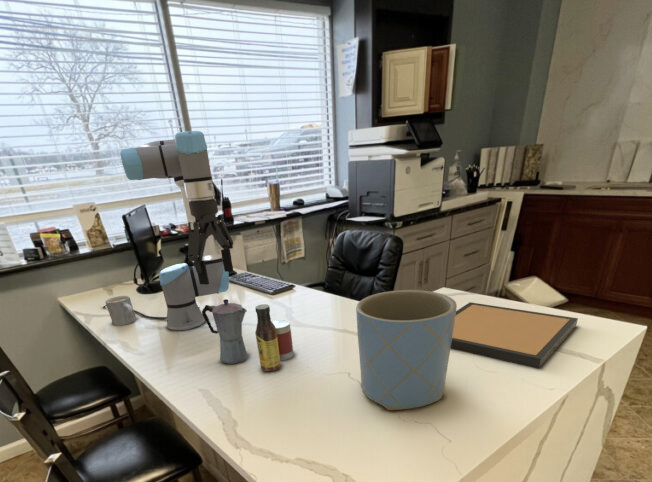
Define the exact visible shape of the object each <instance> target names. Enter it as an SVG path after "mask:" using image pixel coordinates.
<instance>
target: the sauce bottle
mask: <svg viewBox="0 0 652 482" xmlns="http://www.w3.org/2000/svg"><path fill="white" fill-rule="evenodd" d="M270 312H271V308H270V305H269V304H266V303H263V304H258V305H256V306H255V313H256V319H257V322H256V323H257V324H256V329H255V339H256V340H255V341H256V346H257V352H258V353H257V354H258V359H259V364H260V367H261V369H262V371H264V372H275V371H277V370H279V369H280V367H281V360H280V355H279V347H278V339H277V334H276V328H275V325H274V324H273V323H272V322H273V321H272V318H271V313H270Z"/></svg>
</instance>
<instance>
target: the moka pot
mask: <svg viewBox="0 0 652 482" xmlns="http://www.w3.org/2000/svg"><path fill="white" fill-rule="evenodd" d="M222 301H223V303H221V304H218V305H209V304H205V306H204V307H203V309H202V310H201V313H202V314H203V317H204V319H205V322H206V325H207V326H208V328H209V331H210V333H211V334H218V335H219V352H220V353H219V354H220V356H219V357H220V359H219V360H220V361H221V362H222V363H224V364H231V365H232V364H239V363H242V362H244V361H245V360H247V358H248V354H247V353H248V352H247V350H246V344H245V341H244V338H243V331H242V330H243V321H244V318H245V315H246V313H247V312H248V310H247V308H245V307H243V306H242V304H239V303H235V302H229V299H223V300H222ZM207 312H210V313H212V317H213V320H214V324H215V327H216V330H215V329H214V327H213V326H212V323H211V321H210V319H209V317H208V315H207Z"/></svg>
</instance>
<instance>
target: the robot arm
mask: <svg viewBox="0 0 652 482" xmlns="http://www.w3.org/2000/svg"><path fill="white" fill-rule="evenodd" d="M119 154H120V161H121V164H122V168H123V170H124V174H125V175H126V178H127V180H129V181H142V180H151V179H157V180H159V179H161V180H163V179H173V182H174V185H176V186H177V187H178V188H179V190H180V193H181V197H182V203H183V207H184V211H185V217H186V220H187V226H188V245H187V246H188V247H187V260H188V261H190V262H192V265H193V266H189V265H188V264H187V263H185V262H183V263H177V264H173V265H169V266H167V267H165V268H163V269H161V271H159V273H158V277H159V283H160V286H161V289H162V293H163V297H164V301H165V304H166V305H165V306H166V309H167V310H166V311H167V312H166V316H150V315H146V314H144V313H142V312H139V311H138V310H135V309H133V310H134V313H135V314H138V315H141V316H142V317H144V318H147V319H153V320H154V319H155V320H166V325H167V328H168V329H169V330H170V331H178V332H179V331H186V330H192V329H196V328H198V327H200V326H202V325H204V323H205V322H206V320H205V319H204V317H203V314H202V310H201V307H200V306H199V304H197V300H196V298H197V297H203V296H209V295H217V294H220V293H226V292H228V290H229V287H230V274H229V273H231V272H234V267H233V261H232V254H231V250H232V249H234V241H233V239H232V236H231V234H230V231H229V230H228V228H227V226H226V223H225V220H224V216H223V214H218V213H219V208H218V202H217V199H216V198H215V196H216V192H215V186H214V182H213V177H212V170H211V166H210V159H209V152H208V144H207V142H206V138H205V134H204V133H203V131H201V130H189V131H188V130H187V131H180V132H179V131H178V132H176V134H175V135H174V139H165V140H154V141H150V142H147V143H143V144H142V145H139V146H137V147H133V146H131V147H128V148H122V149H121V150H120V153H119ZM216 242H217V243H218V245H219V246H220V247H221V249H220V254H219V253H218V250H217V245H216ZM104 305H105V306H107V305H106V304H104ZM104 305H103V307H102V308H103V309H105V308H106V307H105V306H104Z"/></svg>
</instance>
